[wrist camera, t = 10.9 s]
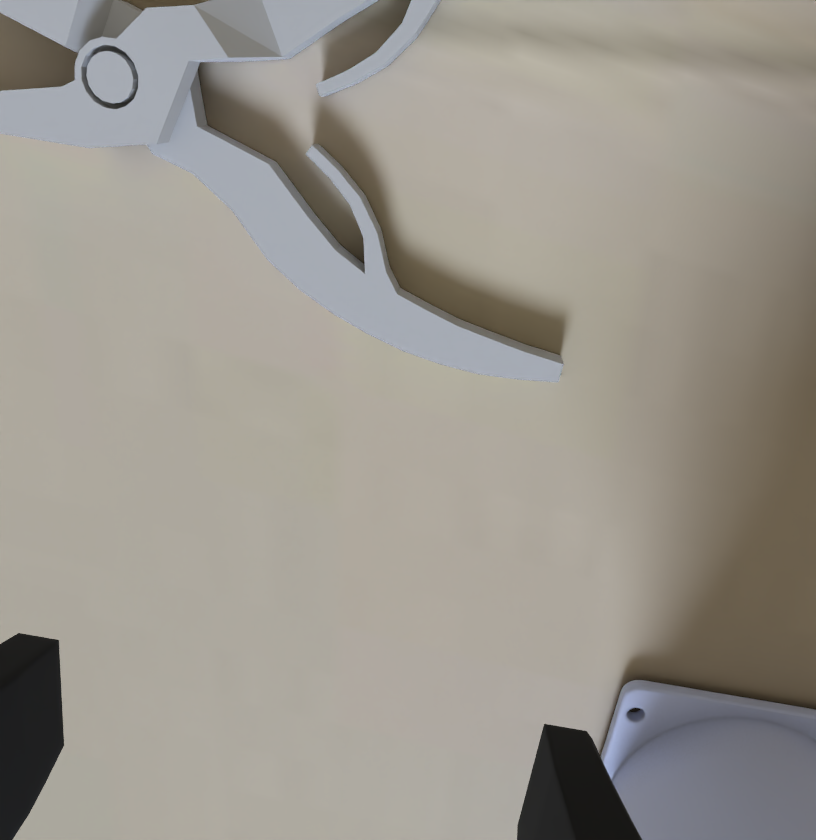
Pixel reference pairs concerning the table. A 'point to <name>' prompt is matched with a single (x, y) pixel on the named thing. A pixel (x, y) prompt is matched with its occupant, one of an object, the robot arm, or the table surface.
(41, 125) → the pliers
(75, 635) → the table surface
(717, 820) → the robot arm
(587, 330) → the table surface
